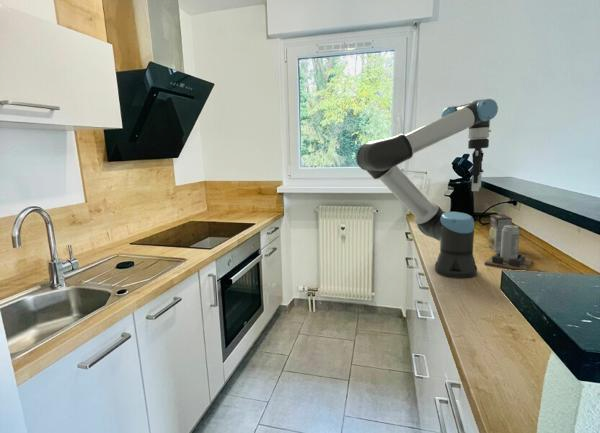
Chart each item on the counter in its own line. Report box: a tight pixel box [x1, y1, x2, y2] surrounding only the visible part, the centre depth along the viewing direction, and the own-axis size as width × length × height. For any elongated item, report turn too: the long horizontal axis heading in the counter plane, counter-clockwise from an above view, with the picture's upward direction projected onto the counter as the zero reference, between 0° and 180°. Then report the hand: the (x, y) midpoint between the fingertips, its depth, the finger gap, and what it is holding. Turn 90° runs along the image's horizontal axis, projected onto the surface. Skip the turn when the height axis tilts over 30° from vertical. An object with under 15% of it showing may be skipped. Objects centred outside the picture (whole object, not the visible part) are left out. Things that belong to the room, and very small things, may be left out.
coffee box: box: [488, 214, 513, 253], centre depth 149 cm, size 9×6×16 cm
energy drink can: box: [500, 224, 521, 263], centre depth 129 cm, size 6×6×15 cm
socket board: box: [483, 251, 534, 271], centre depth 131 cm, size 14×14×4 cm
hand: (476, 189), depth 136 cm, fingers open, 13 cm apart
